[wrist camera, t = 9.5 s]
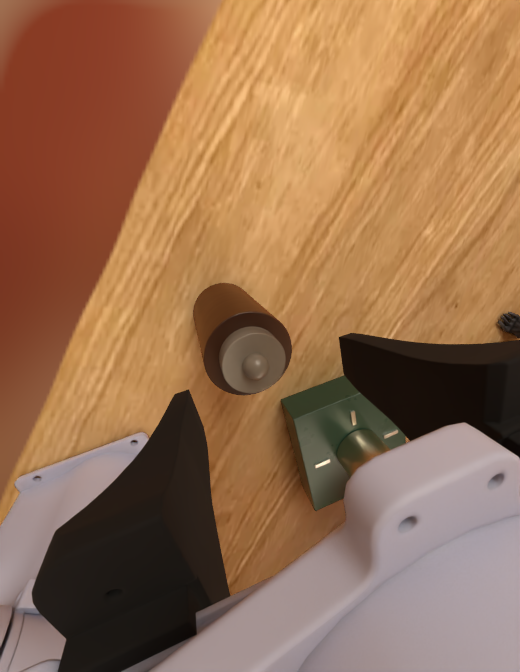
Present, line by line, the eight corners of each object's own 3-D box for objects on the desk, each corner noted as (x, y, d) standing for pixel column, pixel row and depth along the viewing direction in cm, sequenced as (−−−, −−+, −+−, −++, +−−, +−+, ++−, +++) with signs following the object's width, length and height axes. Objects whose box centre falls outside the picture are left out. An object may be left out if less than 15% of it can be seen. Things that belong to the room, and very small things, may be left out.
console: (302, 485, 30) (316, 513, 27) (280, 399, 25) (294, 420, 22) (386, 448, 31) (408, 470, 28) (379, 361, 27) (404, 377, 24)
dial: (378, 455, 27) (410, 490, 23) (340, 472, 26) (366, 511, 22) (374, 421, 25) (408, 453, 21) (333, 439, 24) (360, 475, 21)
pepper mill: (204, 348, 22) (225, 430, 13) (184, 293, 20) (193, 343, 11) (258, 330, 22) (314, 395, 14) (244, 275, 21) (297, 308, 12)
